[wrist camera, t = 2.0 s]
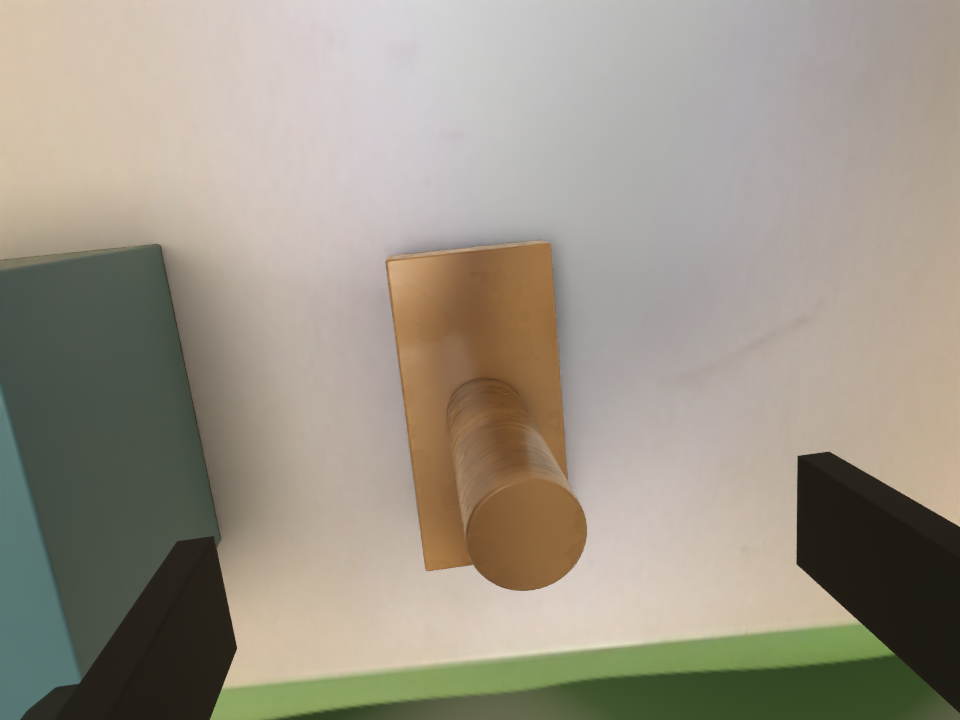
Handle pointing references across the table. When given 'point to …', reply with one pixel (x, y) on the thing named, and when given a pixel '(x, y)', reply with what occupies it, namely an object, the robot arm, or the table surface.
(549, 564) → the stamp
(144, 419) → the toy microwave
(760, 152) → the table surface
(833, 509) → the robot arm
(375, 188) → the table surface
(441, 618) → the table surface
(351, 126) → the table surface
